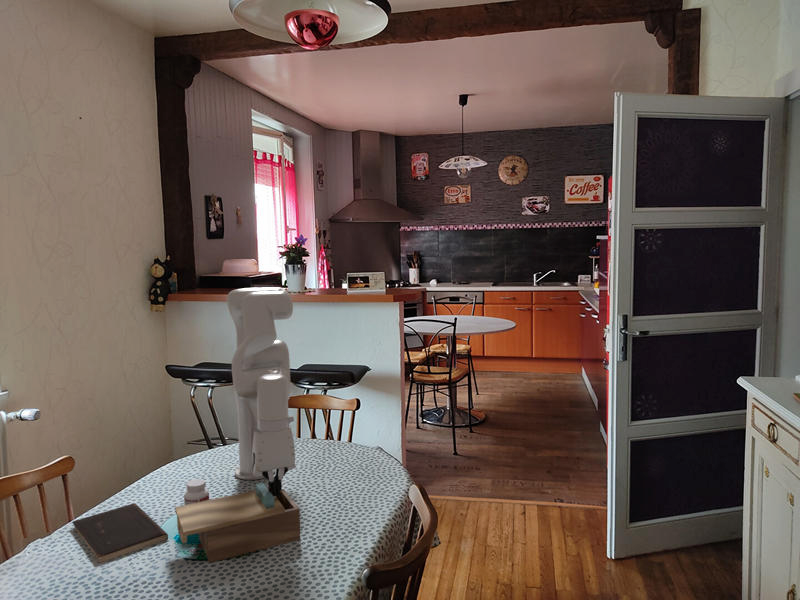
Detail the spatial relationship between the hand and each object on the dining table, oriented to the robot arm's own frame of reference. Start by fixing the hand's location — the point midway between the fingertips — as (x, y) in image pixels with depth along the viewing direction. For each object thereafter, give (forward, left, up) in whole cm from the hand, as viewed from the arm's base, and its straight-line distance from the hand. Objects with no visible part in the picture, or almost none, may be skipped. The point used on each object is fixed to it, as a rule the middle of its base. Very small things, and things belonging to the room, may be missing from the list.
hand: (275, 494), depth 146 cm
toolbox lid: (0, -11, -5) cm, 12 cm away
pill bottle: (-15, -17, -10) cm, 25 cm away
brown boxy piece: (0, -7, -10) cm, 12 cm away
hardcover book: (-19, -35, -11) cm, 41 cm away
